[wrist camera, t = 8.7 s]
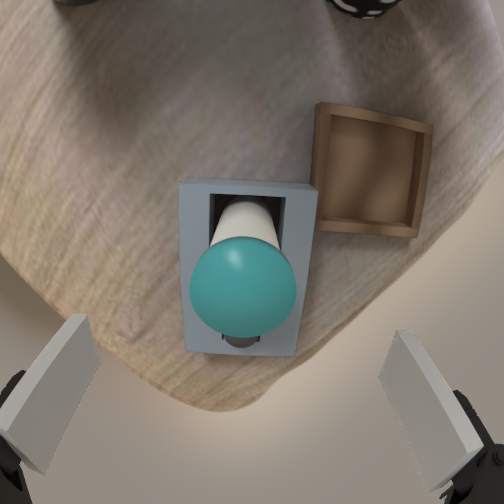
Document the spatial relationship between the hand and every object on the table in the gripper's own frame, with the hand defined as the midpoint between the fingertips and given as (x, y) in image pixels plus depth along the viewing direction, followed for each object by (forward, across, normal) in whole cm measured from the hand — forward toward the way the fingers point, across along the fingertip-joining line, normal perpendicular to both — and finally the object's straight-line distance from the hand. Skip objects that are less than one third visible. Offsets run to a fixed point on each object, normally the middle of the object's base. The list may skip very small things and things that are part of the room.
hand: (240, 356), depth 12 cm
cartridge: (+20, 0, 0) cm, 20 cm away
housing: (+20, 0, -5) cm, 21 cm away
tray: (+20, +12, +6) cm, 24 cm away
